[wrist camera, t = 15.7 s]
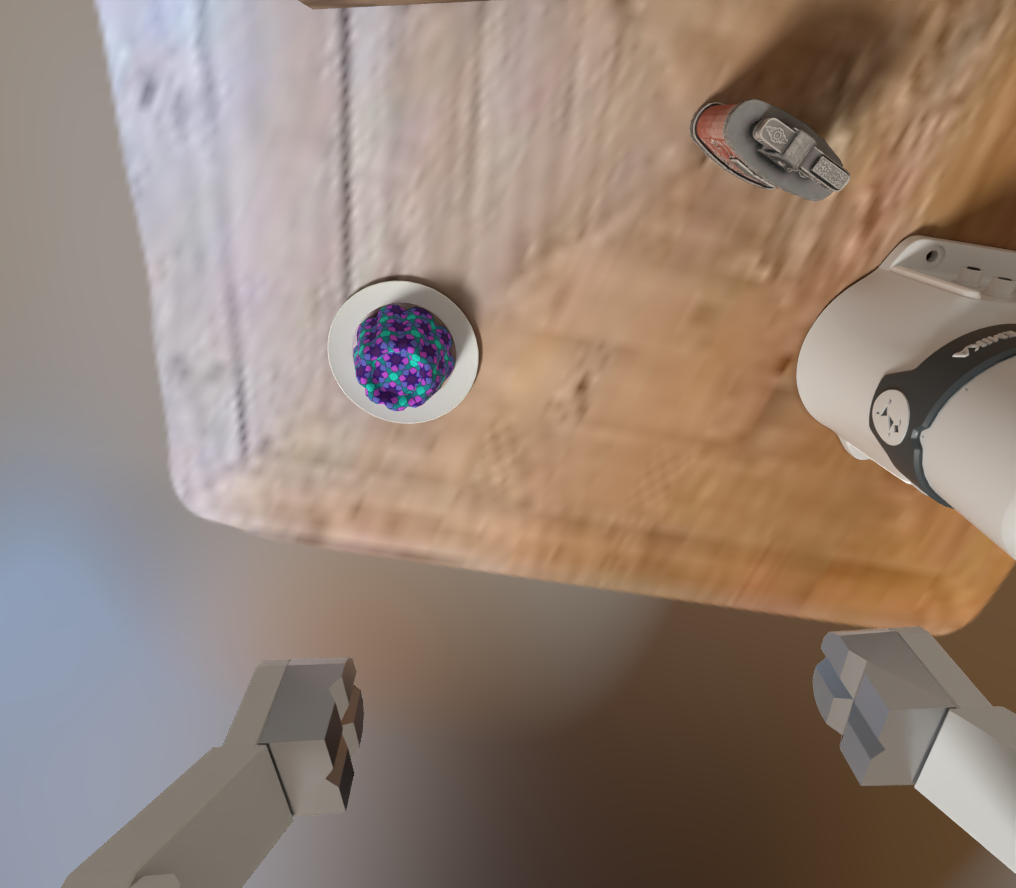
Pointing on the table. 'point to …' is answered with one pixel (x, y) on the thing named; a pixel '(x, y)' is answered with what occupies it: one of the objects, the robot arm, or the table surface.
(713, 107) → the lighter
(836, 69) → the table surface
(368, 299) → the pudding
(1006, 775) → the robot arm
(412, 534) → the table surface
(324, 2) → the walnut collar
